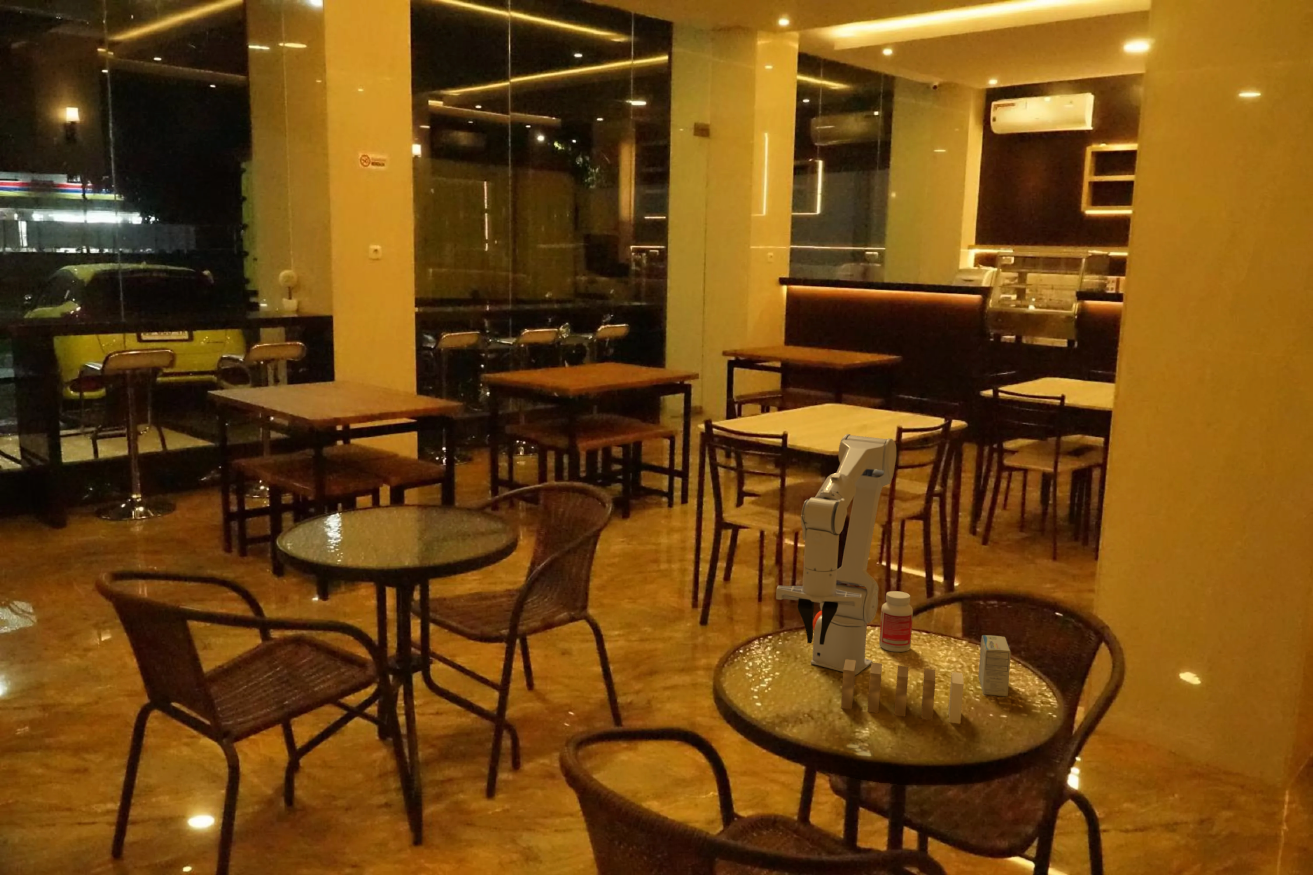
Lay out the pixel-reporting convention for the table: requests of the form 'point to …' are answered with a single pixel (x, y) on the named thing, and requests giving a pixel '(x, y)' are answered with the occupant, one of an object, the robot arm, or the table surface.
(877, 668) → the domino
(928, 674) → the domino
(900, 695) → the domino
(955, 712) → the end domino
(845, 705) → the domino
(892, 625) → the pill bottle
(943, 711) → the table surface
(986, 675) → the medicine box
